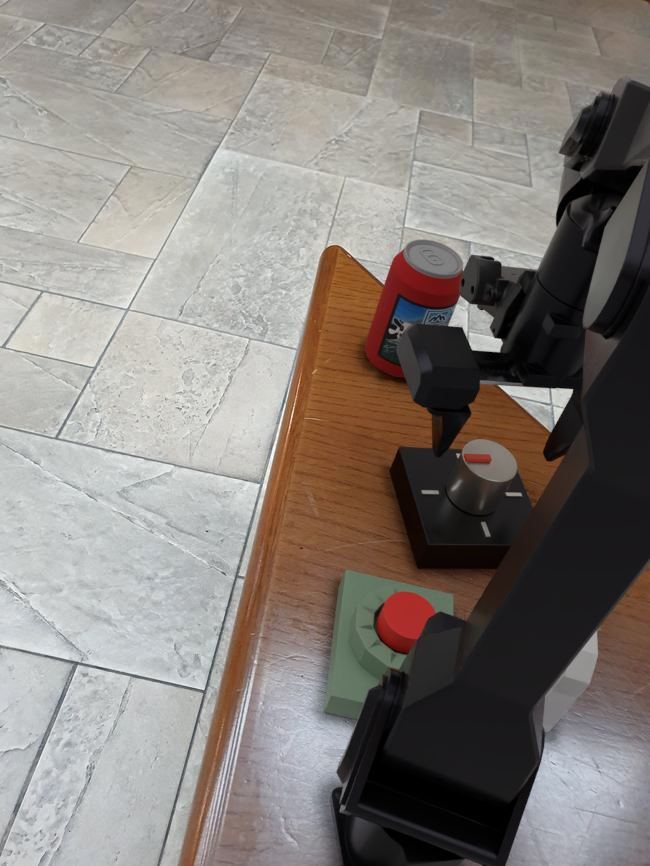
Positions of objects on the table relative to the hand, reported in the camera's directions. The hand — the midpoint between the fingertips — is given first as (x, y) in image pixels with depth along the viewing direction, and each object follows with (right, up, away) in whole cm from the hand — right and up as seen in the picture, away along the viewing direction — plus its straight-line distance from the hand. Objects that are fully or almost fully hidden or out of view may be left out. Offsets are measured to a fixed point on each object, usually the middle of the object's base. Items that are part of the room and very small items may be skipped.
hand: (492, 455), depth 65 cm
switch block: (-8, -14, -6) cm, 17 cm away
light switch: (+3, -14, -3) cm, 15 cm away
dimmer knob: (-1, -3, +3) cm, 4 cm away
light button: (-8, -11, -9) cm, 16 cm away
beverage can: (-6, +9, +18) cm, 21 cm away
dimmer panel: (-2, -5, +5) cm, 7 cm away
